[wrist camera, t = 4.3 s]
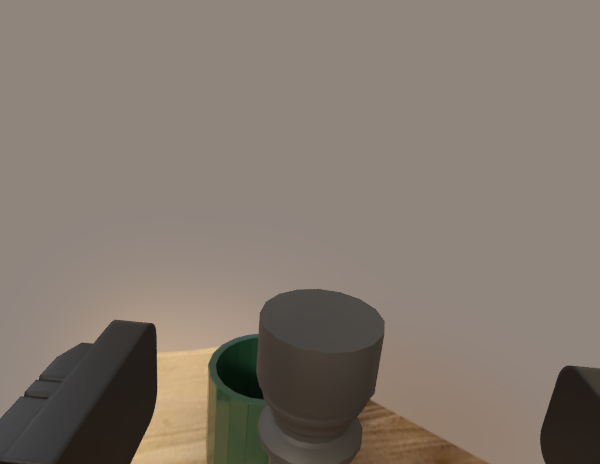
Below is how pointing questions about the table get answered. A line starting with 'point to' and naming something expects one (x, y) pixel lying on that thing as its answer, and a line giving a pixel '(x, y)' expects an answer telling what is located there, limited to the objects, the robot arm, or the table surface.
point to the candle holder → (316, 374)
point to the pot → (234, 404)
